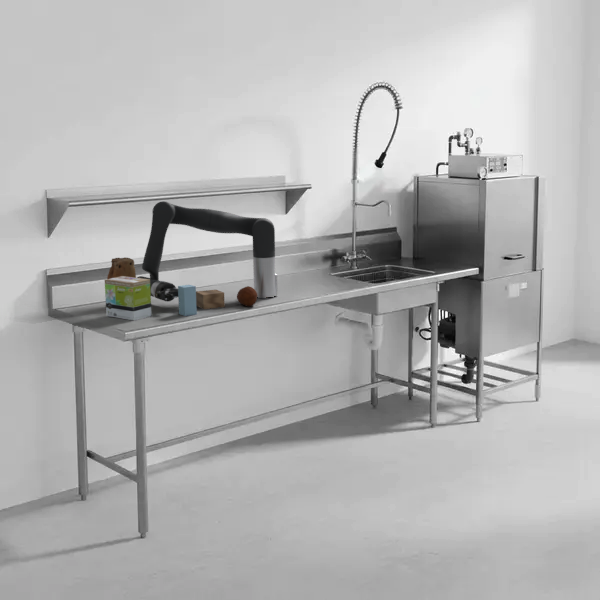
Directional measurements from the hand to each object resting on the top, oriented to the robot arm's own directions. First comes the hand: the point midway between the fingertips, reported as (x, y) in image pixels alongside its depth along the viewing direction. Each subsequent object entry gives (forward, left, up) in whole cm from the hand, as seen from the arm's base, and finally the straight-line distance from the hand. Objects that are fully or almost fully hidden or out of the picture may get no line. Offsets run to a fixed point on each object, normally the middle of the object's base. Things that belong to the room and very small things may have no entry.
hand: (182, 296), depth 345 cm
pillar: (0, +4, -7) cm, 8 cm away
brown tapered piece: (+14, -25, -7) cm, 29 cm away
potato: (-28, +3, -7) cm, 29 cm away
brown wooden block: (-15, -5, -7) cm, 17 cm away
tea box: (+20, -6, -7) cm, 22 cm away
